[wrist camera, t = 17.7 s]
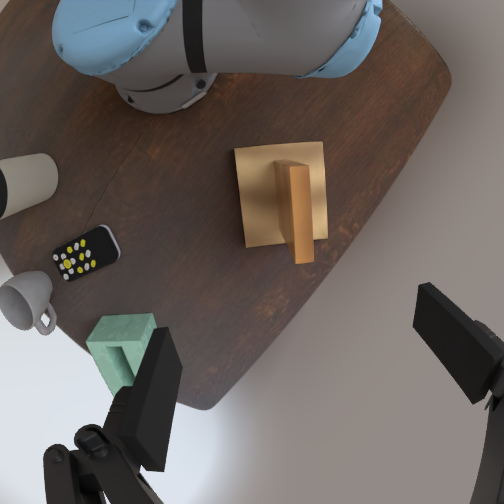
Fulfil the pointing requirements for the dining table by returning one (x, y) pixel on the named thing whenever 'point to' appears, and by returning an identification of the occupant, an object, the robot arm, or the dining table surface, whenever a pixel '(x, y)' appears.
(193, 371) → the dining table surface
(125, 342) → the toaster
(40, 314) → the mug
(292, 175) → the toast
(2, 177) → the travel mug
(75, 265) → the remote control
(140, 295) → the dining table surface
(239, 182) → the board
